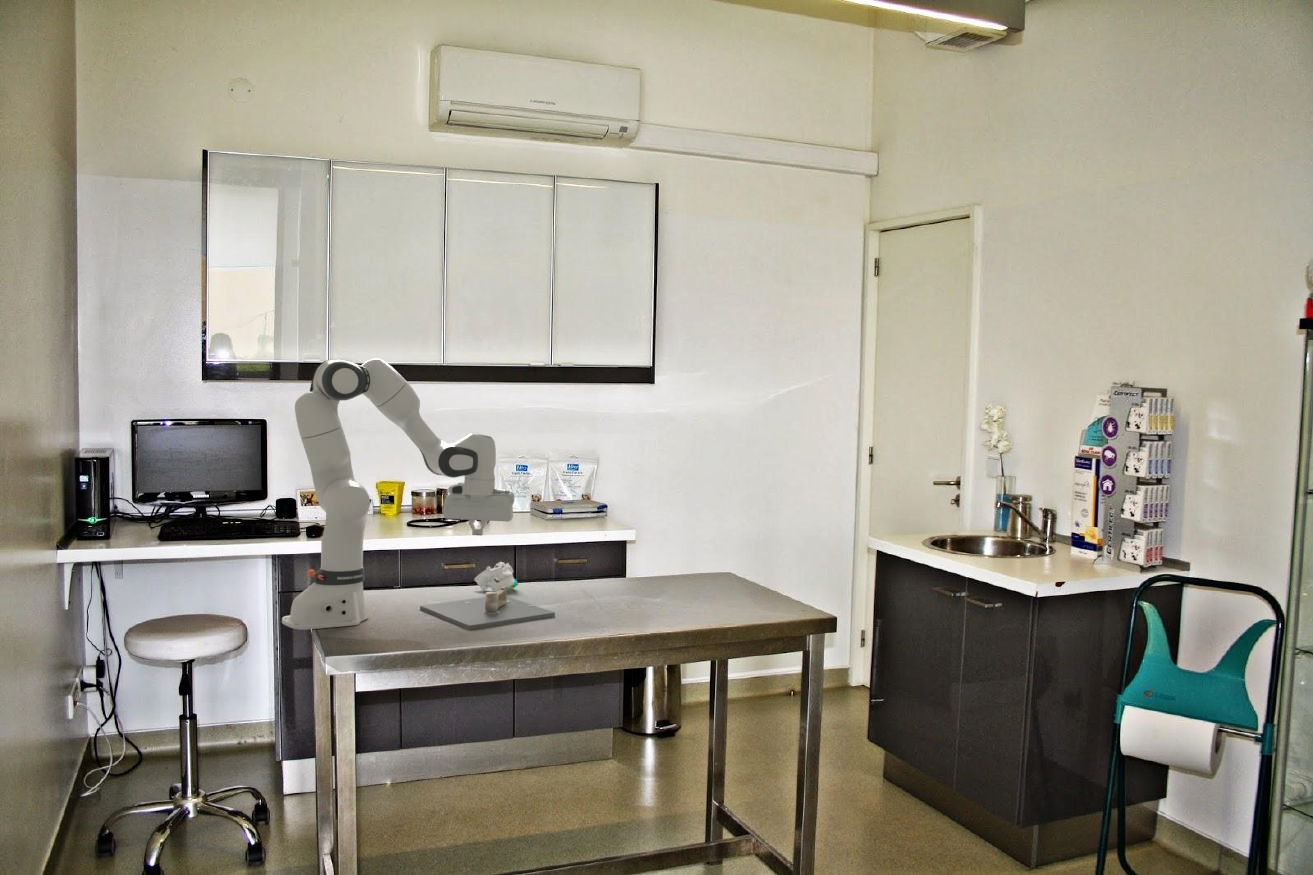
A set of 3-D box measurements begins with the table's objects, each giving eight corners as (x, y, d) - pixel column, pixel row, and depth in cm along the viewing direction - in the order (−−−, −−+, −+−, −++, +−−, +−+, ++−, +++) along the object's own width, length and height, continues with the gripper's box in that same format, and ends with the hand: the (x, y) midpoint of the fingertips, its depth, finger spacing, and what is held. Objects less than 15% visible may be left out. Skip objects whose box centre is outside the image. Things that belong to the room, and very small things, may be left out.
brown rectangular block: (483, 612, 284) (483, 594, 284) (498, 601, 298) (498, 584, 297) (495, 613, 283) (496, 594, 283) (509, 602, 297) (510, 585, 297)
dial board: (469, 630, 269) (469, 624, 269) (420, 609, 290) (420, 605, 290) (554, 616, 288) (554, 611, 288) (502, 598, 309) (502, 594, 309)
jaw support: (502, 586, 312) (487, 562, 316) (488, 603, 316) (473, 579, 320) (529, 581, 321) (515, 558, 325) (515, 598, 325) (501, 575, 329)
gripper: (516, 489, 297) (514, 535, 297) (447, 485, 297) (445, 531, 297) (513, 491, 290) (511, 538, 291) (442, 487, 290) (440, 534, 291)
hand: (477, 535), depth 294 cm, fingers closed
